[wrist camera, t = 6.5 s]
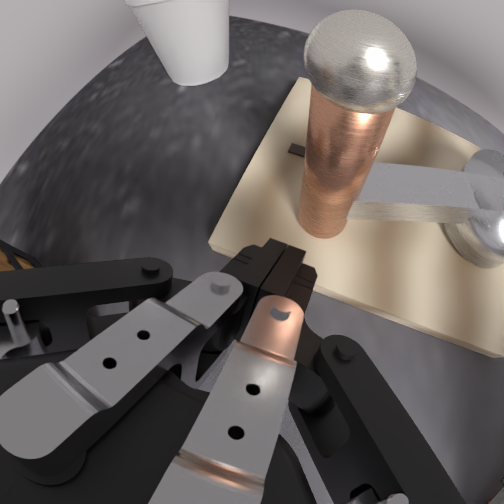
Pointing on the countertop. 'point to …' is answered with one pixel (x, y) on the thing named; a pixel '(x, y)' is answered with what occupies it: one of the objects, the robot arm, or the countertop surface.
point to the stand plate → (371, 234)
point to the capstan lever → (371, 137)
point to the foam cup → (187, 36)
